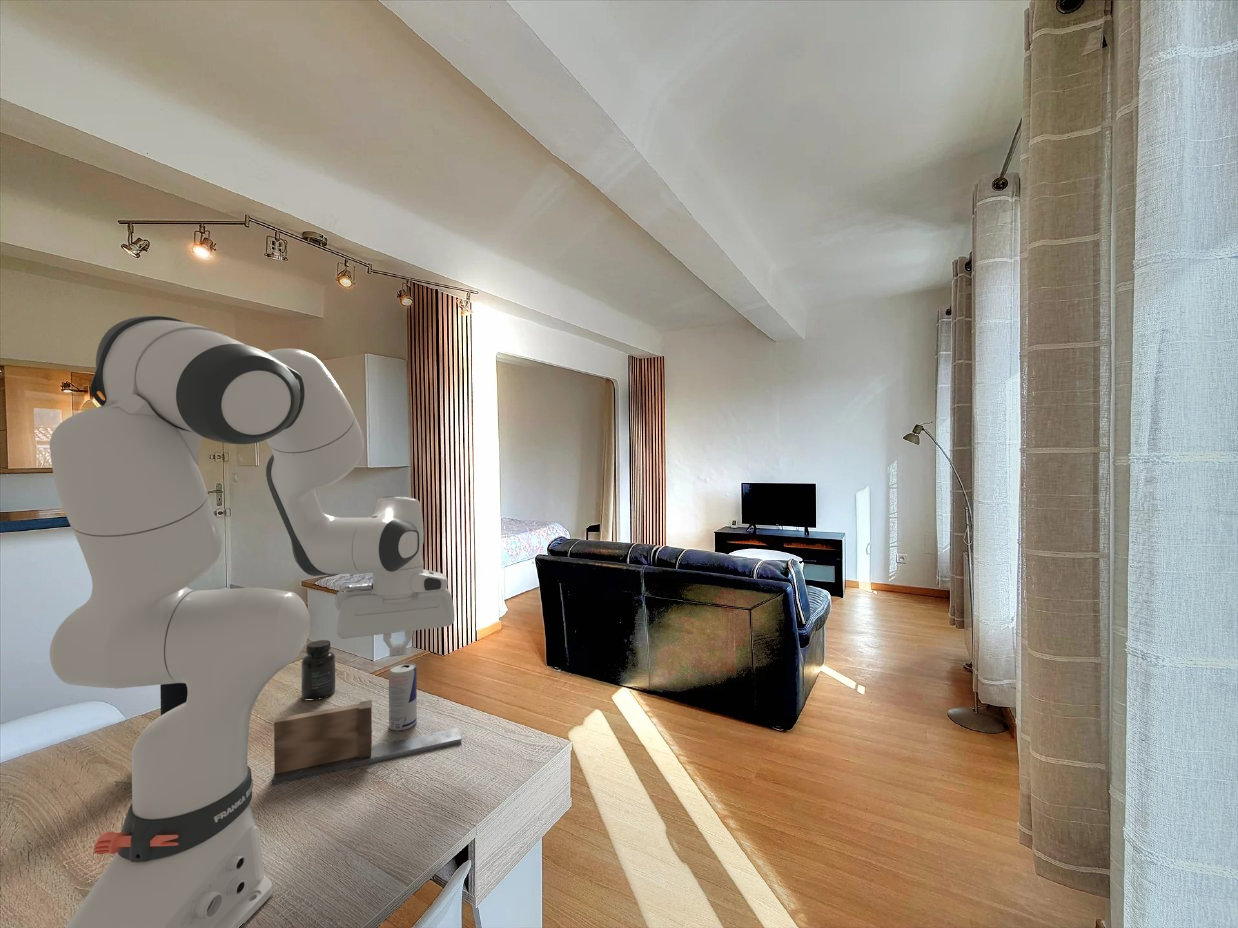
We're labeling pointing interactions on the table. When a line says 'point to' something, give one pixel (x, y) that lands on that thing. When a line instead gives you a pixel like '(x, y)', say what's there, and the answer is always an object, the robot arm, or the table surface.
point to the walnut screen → (322, 737)
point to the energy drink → (402, 696)
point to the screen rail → (378, 754)
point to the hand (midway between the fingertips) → (397, 654)
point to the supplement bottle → (318, 670)
